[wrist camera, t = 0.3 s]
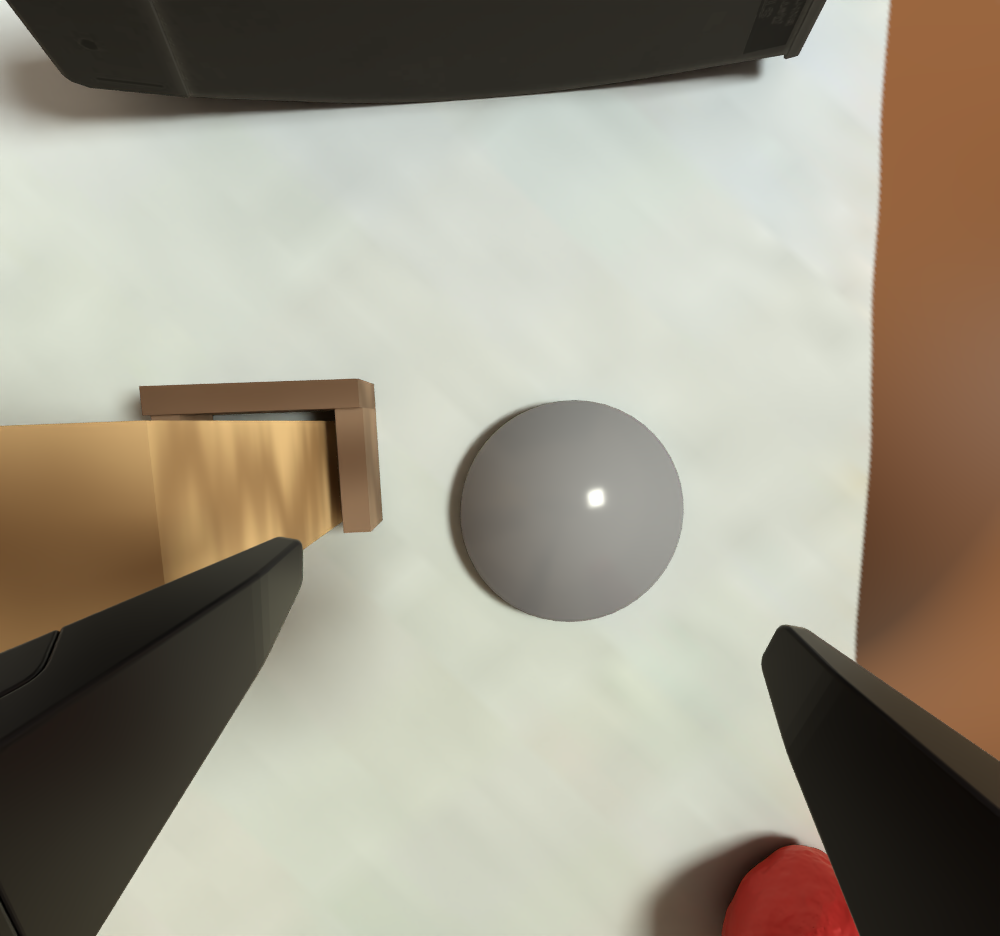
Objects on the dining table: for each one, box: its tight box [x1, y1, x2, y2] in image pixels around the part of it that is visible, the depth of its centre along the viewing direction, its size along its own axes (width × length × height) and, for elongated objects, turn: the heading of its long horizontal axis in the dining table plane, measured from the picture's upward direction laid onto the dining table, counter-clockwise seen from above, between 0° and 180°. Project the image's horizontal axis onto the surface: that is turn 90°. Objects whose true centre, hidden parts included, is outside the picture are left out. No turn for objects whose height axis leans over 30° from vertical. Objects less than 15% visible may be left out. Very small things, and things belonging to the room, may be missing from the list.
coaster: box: [460, 400, 683, 622], centre depth 23 cm, size 11×11×1 cm
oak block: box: [0, 421, 342, 653], centre depth 17 cm, size 5×5×13 cm
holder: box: [139, 379, 383, 533], centre depth 22 cm, size 7×9×3 cm
